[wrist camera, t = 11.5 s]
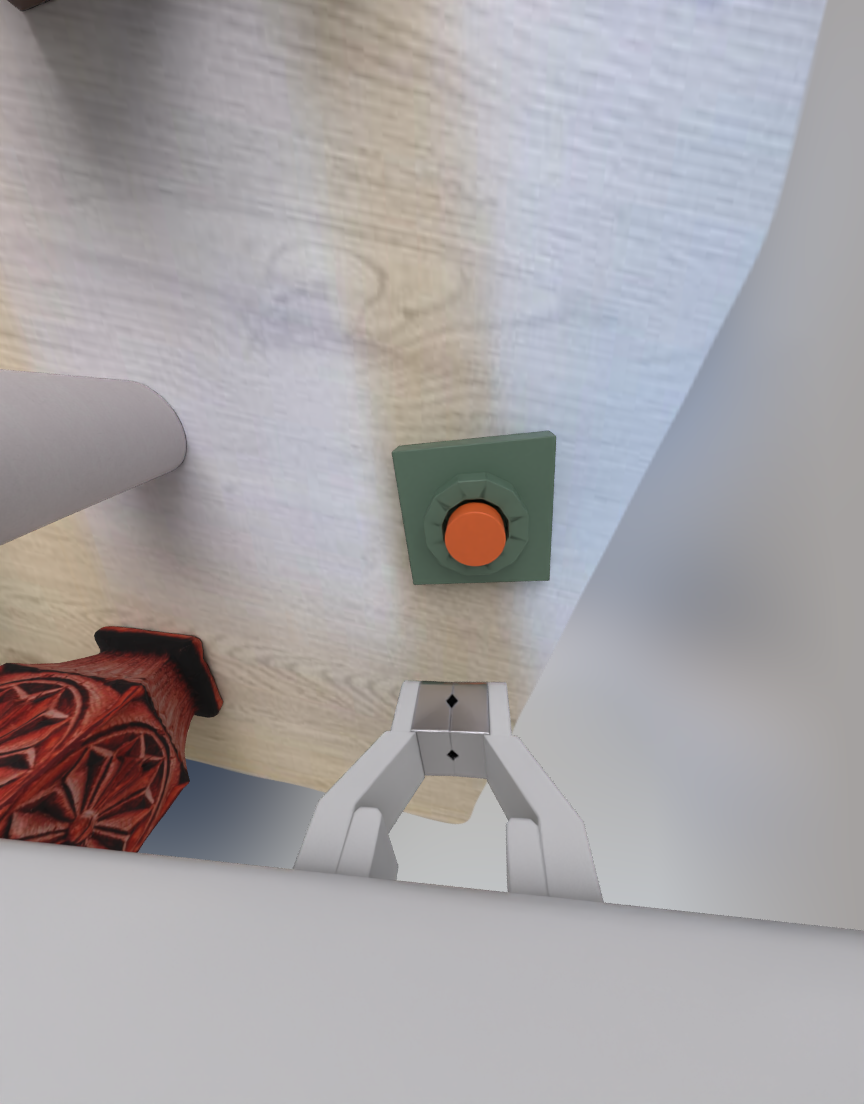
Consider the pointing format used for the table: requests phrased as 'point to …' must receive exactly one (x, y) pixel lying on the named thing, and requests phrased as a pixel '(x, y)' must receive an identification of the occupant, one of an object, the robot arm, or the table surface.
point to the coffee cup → (77, 444)
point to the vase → (100, 739)
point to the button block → (486, 477)
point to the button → (475, 534)
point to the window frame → (26, 3)
